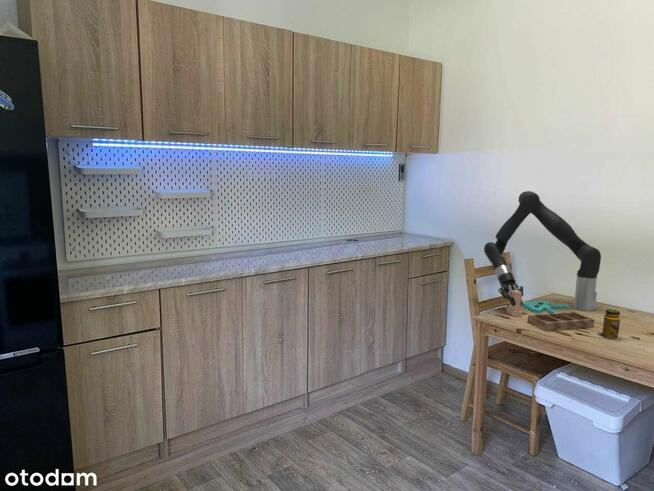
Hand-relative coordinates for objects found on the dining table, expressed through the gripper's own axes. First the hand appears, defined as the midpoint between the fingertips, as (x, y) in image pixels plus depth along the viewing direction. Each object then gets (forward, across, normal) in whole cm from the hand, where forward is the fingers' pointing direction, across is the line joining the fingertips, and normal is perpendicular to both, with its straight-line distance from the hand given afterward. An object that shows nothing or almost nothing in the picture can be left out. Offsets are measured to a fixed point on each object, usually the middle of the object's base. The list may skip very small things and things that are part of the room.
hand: (517, 304), depth 238 cm
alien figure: (-1, +21, +9) cm, 23 cm away
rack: (+16, +11, -8) cm, 21 cm away
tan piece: (+2, 0, +5) cm, 6 cm away
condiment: (+29, +20, -21) cm, 41 cm away
